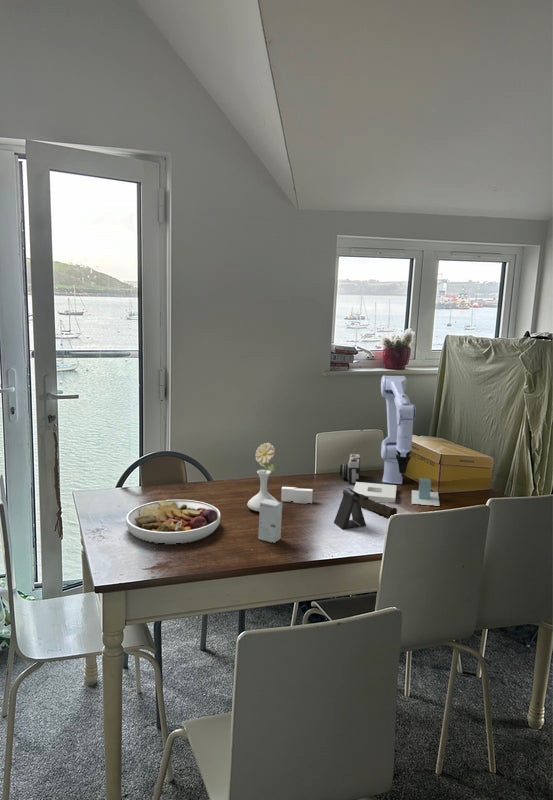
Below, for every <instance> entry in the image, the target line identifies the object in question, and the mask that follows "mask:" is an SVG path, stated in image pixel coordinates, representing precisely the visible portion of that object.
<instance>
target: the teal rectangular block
mask: <svg viewBox="0 0 553 800" xmlns="http://www.w3.org/2000/svg"><path fill="white" fill-rule="evenodd" d="M431 486H432V481H431V478H427V477H423V478H422V477H419V479H418V491H419V492H418V497H419V499H427V500H430V492H431V490H432V487H431Z"/></svg>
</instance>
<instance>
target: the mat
mask: <svg viewBox="0 0 553 800" xmlns="http://www.w3.org/2000/svg"><path fill="white" fill-rule="evenodd" d="M418 492H419V490H417V489H415V490H414V489H412V490H411V505H412V504H421V505H434V506H440V496H439V492H438V491H430V500H427V499H419V497H418Z"/></svg>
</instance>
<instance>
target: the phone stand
mask: <svg viewBox="0 0 553 800" xmlns="http://www.w3.org/2000/svg"><path fill="white" fill-rule="evenodd" d="M353 490H354V489H351V488H350V487H348V488H347V487H345V488H343V491H342V498H341V502H340V504H339V507H338V509H337V512H336V515H335V519H334V521H333V523H334V524H335V525H336V526H338V527H339V528H340V529H341V530H349V529H350V530H351V529H356V528H358V529H359V528H363V527H366V526H367V524H366V520H365V517H364V513H363V508H361V506H360V502H359V498H360V495H359V494H358V493H356V492H355V491H353ZM351 517H352V519H350V518H351Z"/></svg>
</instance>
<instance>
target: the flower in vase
mask: <svg viewBox="0 0 553 800" xmlns="http://www.w3.org/2000/svg"><path fill="white" fill-rule="evenodd" d="M275 449H276V448H275V447H274V446H273V444H271V443H270V442H267V443H265V442H264V443H263V444H260V445H259V446H258V447H257V449H256V450H255V461H256V462H257V463H258V464H259V465H260V466H261V467H262V468H264V469H258V470H257V471H256V473H257V475H258V477H259V481H260V490H259V492H258V493H257V494H255V495H253V496H252V497H251V498H250V499H249V500H248V502H247V505H246V506H248V508H249V509H250V510H252V511H255V512H260V502H262V501H263V500H265V499H269V500H275V501H278V500H277V498H275V497H274V496H272V495H271V494H270V493H269V491H268V480H269V476H270V475H271V474H272V472H276V468H275V466H274V464H273V463H272V464H270V463H271V461H272V460H273V458H274V456H275V452H276V450H275ZM265 464H268V465H267V466H266V465H265Z"/></svg>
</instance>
